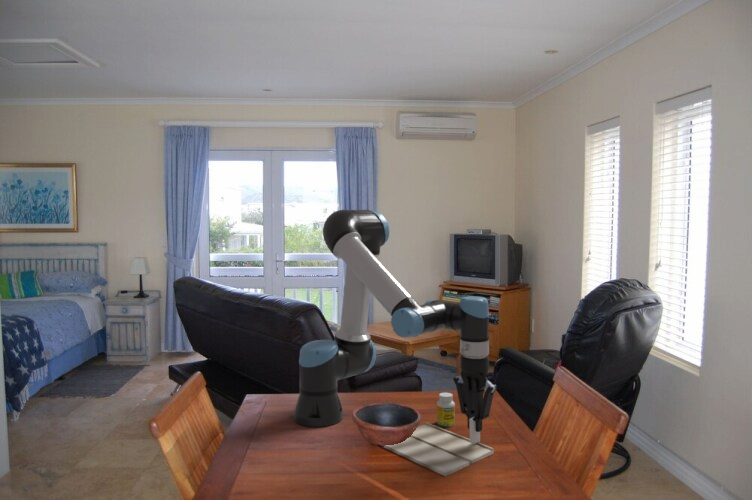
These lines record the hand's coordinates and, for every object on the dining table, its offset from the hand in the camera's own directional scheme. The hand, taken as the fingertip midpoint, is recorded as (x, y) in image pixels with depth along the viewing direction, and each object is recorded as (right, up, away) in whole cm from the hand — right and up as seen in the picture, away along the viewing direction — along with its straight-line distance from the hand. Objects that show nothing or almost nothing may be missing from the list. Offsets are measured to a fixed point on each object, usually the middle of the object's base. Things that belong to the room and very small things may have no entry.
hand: (474, 441), depth 148 cm
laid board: (-15, -3, -4) cm, 15 cm away
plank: (-7, -2, +2) cm, 8 cm away
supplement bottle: (-6, -1, +17) cm, 18 cm away
